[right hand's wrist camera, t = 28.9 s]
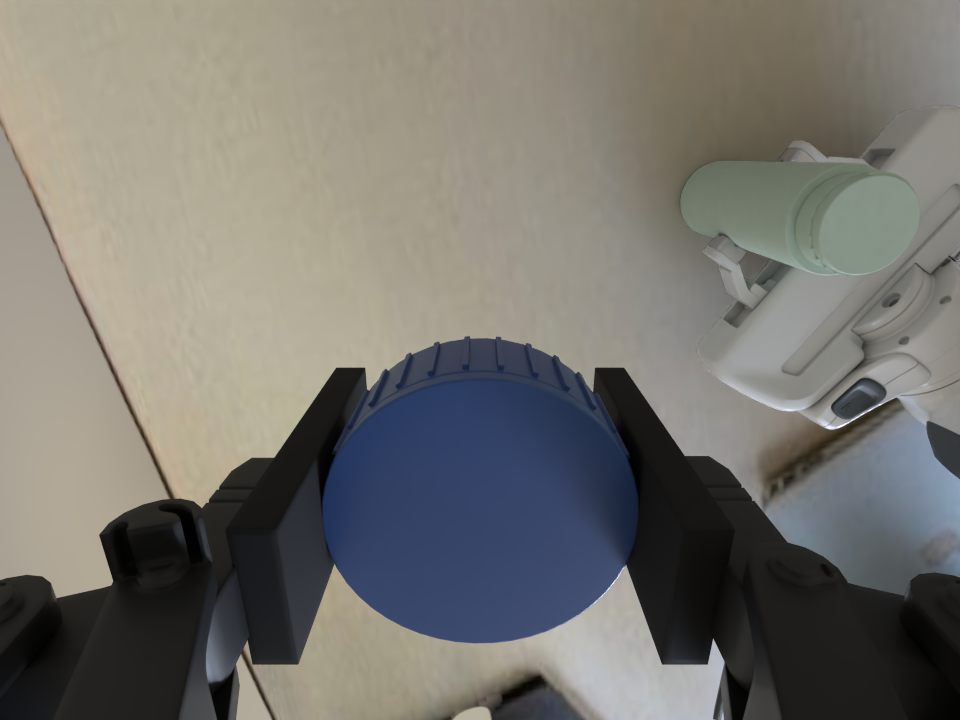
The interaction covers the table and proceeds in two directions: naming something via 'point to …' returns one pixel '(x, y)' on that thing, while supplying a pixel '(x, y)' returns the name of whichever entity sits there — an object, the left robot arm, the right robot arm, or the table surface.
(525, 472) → the lid
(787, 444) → the table surface
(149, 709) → the right robot arm
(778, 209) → the pale green bottle
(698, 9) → the table surface
